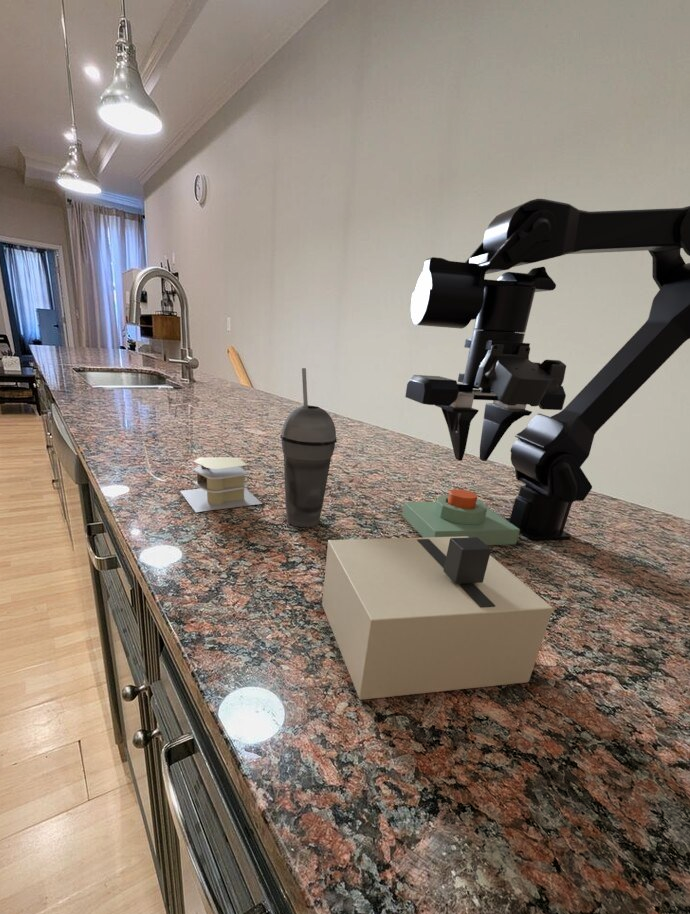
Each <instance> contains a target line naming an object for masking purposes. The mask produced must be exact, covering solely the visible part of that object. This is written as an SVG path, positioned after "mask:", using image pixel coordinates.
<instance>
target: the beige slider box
mask: <svg viewBox="0 0 690 914" xmlns="http://www.w3.org/2000/svg"><path fill="white" fill-rule="evenodd" d="M450 538H469V537H468V536H461V537H425V538H423V537H396V538H395V537H393V538H363V539H362V538H361V539H360V538H358V539H357V538H356V539H355V538H353V539H352V538H351V539H328V541H327V549H326V559H325V569H324V570H325V571H324V581H323V590H322V591H323V592H322V601H321V605H322V608H323V610H324V613H325V616H326V618H327V620H328V624H329V626H330V628H331V631H332V633H333V636H334V639H335V641H336V644H337V646H338V649H339V651H340V654H341V656H342V659H343V661H344V664H345V666H346V669H347V672H348V674H349V677H350V679H351V682H352V684H353V687H354V689H355V692H356V694H357V697H358V699H359V700H360V701H363V700H373V699H381V698H391V697H401V696H411V695H419V694H429V693H439V692H449V691H457V690H465V689H466V690H467V689H477V688H486V687H496V686H505V685H515V684H516V685H517V684H526V683H529V682H530V680H531V676H532V674H533V671H534V667H535V664H536V662H537V659H538V655H539V652H540V651H541V650H540V649H541V646H542V643H543V640H544V637H545V634H546V632H547V628H548V626H549V624H550V623H549V622H550V620H551V618H552V614H553V611H554V607H553V606H551V605H550V604H549V602H547V601H545V600H544V599H543V598H542V597H541V596H539V595H538V594H537V593H536V592H535V591H534V590H532V589H531V588H530V587H529V586H528V585H526V584H525V583H524V582H523V581H522V580H521V579H519V577H517V576H516V575H514V574H513V573H512V572H511V571H510V570H509V569H508V568H506V567H505V566H504V565H503V564H502V563H500V561H498V560H496V559H495V558H494V557H493V555H491V554H490V556H489V560H488V564H487V568H486V572H485V576H484V580H483V582H482V583H465V584H455V583H454V582H453V581H452V580H451V579H450V578H449V577H448V576H447V575H446V574H445V572H444V571H443V570H444V565H445V560H446V556H447V551H448V546H449V541H450Z"/></svg>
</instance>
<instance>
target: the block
mask: <svg viewBox="0 0 690 914" xmlns="http://www.w3.org/2000/svg"><path fill="white" fill-rule="evenodd" d="M448 498H449V494H442V495H440V496H437V497H436V501H404V502H403V506H402V512H401V513H402V514H401V517H403V519H404V520H406V522H407V523H408V524H409V525H410V526H411V527H412V528H413V529H414V530H415V531H416V532H417V533H418V534H419V535H420V536H421V538H425V537H461V536H468V537H469V538H470V537H477V538H479V539H480V540H481V541H483V542H484V543H485V544H486V545H487V546H503V545H516V544H517V542H518V538H519V535H520V532H519V531H520V529H519V528H517V527H516V526H514V525H513V524H511V523H510V522H508V521H507V520H505V517H504V518H503V516H501V515H499V514H498V513H496V512H495V511H493V510H492V509H491V508H489V507H488V506H487V505H488V504H486V503H484V502H482V501H481V499H480V500H479V499H477V501H476V506H475V508H474V509H464V508H458V507H455V506H452V505H450V504H448Z"/></svg>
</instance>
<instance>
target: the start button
mask: <svg viewBox="0 0 690 914" xmlns="http://www.w3.org/2000/svg"><path fill="white" fill-rule="evenodd" d="M448 495H449V498H448V504H450V505H452V506H455V507H458V508H464V509H474V508H475V506H476V501H477V500H478V496H479V495H478V494H476V493H475V492H474V491H470V490H466V489H461V488H459V489H458V488H456V489H451V490H450V491H449V494H448Z"/></svg>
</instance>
